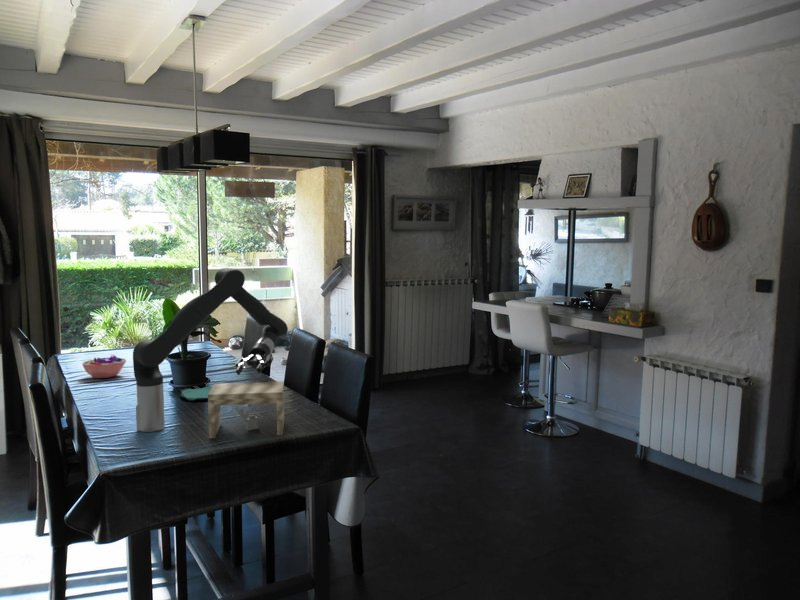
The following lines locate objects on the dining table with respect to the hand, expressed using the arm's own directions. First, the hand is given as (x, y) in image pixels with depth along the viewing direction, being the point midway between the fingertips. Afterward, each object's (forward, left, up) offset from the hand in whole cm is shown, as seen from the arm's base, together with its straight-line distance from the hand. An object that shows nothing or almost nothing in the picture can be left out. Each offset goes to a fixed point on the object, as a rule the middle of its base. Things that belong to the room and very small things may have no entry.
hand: (247, 371), depth 236 cm
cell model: (-78, +86, -20) cm, 118 cm away
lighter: (+1, -8, -20) cm, 22 cm away
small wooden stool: (+1, -8, -20) cm, 22 cm away
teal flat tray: (-25, +48, -21) cm, 58 cm away
